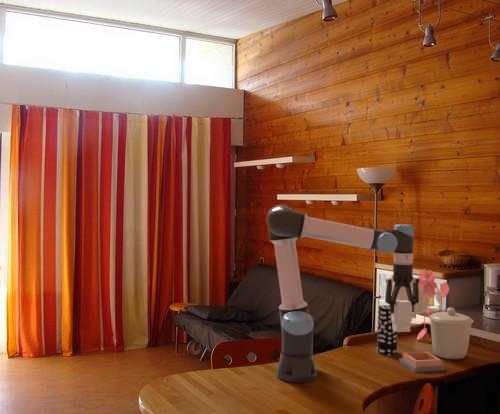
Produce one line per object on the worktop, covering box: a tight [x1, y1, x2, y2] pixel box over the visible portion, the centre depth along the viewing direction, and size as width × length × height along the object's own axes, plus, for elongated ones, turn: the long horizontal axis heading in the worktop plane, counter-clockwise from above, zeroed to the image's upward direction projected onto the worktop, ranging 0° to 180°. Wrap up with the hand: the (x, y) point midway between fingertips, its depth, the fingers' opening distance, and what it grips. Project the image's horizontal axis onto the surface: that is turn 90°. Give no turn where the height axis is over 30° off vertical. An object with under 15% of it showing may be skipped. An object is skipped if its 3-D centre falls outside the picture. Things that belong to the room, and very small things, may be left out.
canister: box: [428, 307, 474, 360], centre depth 245 cm, size 18×18×21 cm
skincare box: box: [392, 299, 412, 333], centre depth 227 cm, size 6×4×12 cm
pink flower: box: [411, 268, 450, 352], centre depth 262 cm, size 15×26×35 cm, turn 22°
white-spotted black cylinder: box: [376, 304, 398, 357], centre depth 248 cm, size 8×8×20 cm
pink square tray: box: [398, 351, 445, 373], centre depth 231 cm, size 13×13×4 cm
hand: (401, 320), depth 227 cm, fingers closed on skincare box, 6 cm apart
